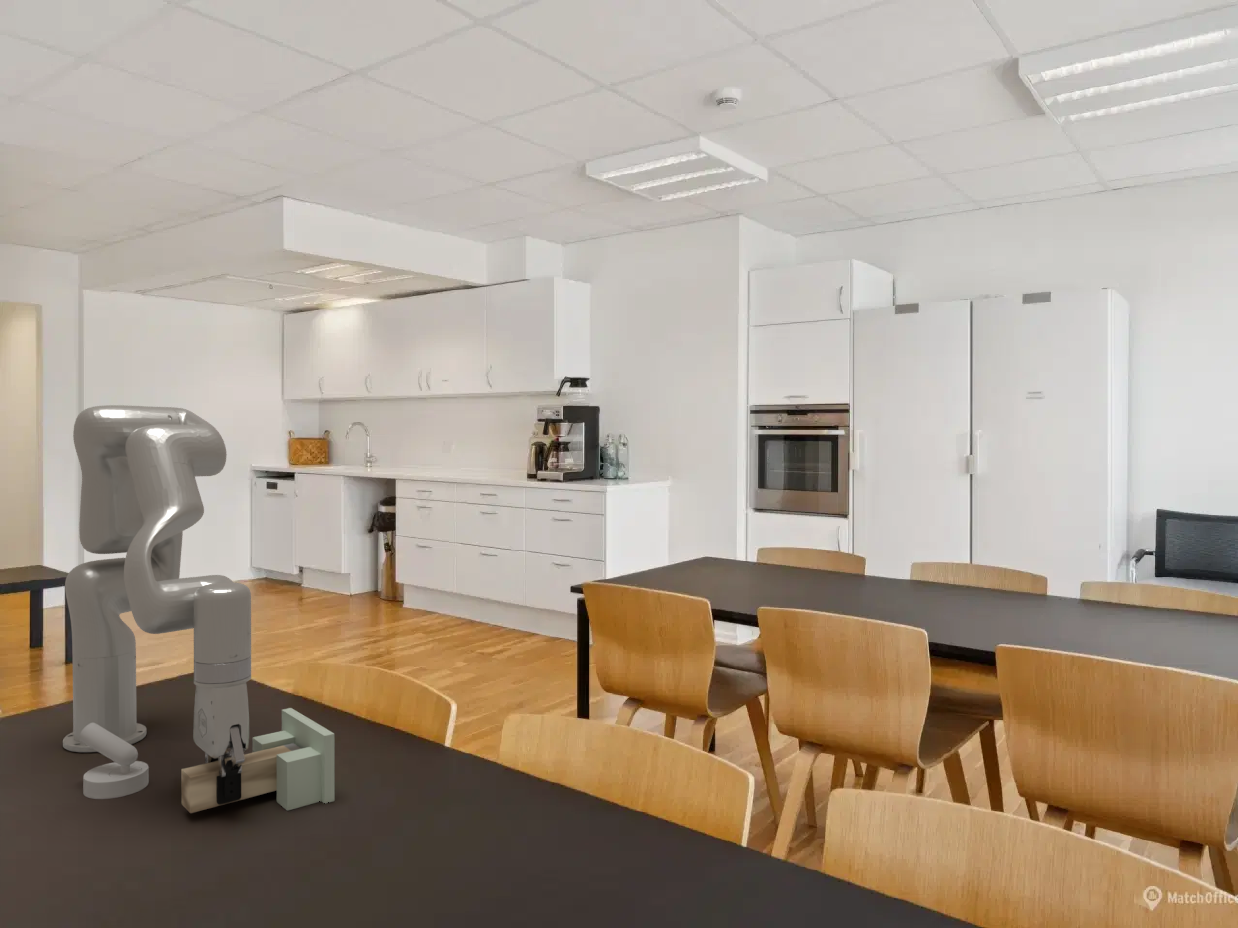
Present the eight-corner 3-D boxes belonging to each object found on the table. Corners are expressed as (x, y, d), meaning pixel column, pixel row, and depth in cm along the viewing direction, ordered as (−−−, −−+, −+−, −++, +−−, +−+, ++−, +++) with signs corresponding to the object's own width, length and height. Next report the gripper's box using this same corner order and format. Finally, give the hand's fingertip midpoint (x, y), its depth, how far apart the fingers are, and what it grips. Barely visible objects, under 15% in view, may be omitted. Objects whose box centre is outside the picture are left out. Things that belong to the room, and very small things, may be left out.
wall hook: (105, 713, 138) (160, 718, 136) (106, 773, 138) (161, 779, 136) (60, 731, 130) (118, 737, 128) (61, 795, 130) (119, 801, 128)
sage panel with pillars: (249, 779, 136) (249, 716, 136) (291, 769, 141) (290, 707, 140) (290, 813, 124) (290, 743, 124) (334, 800, 129) (334, 733, 128)
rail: (181, 803, 124) (181, 769, 124) (293, 775, 135) (293, 742, 135) (190, 813, 121) (190, 777, 121) (303, 782, 132) (303, 750, 132)
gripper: (176, 662, 129) (177, 785, 130) (214, 688, 117) (215, 823, 117) (229, 654, 134) (230, 772, 135) (271, 678, 122) (271, 807, 122)
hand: (223, 794), depth 126 cm, fingers closed on rail, 4 cm apart
